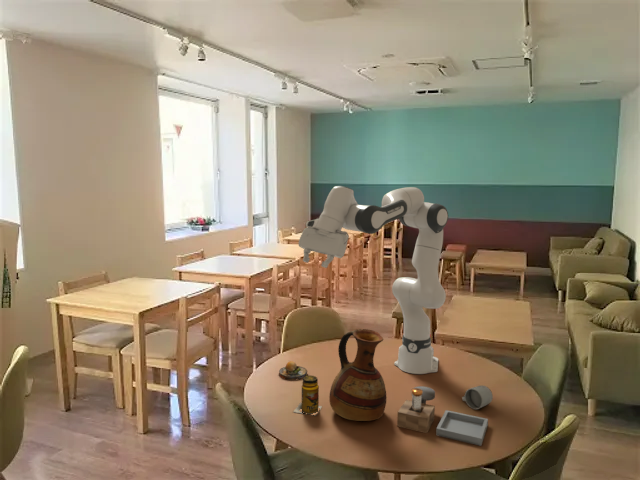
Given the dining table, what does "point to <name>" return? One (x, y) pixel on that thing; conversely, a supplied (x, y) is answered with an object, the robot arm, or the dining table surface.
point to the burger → (292, 371)
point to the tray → (462, 427)
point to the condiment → (309, 396)
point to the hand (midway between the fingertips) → (314, 264)
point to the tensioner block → (417, 419)
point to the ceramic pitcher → (359, 380)
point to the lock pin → (416, 399)
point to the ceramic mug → (478, 397)
